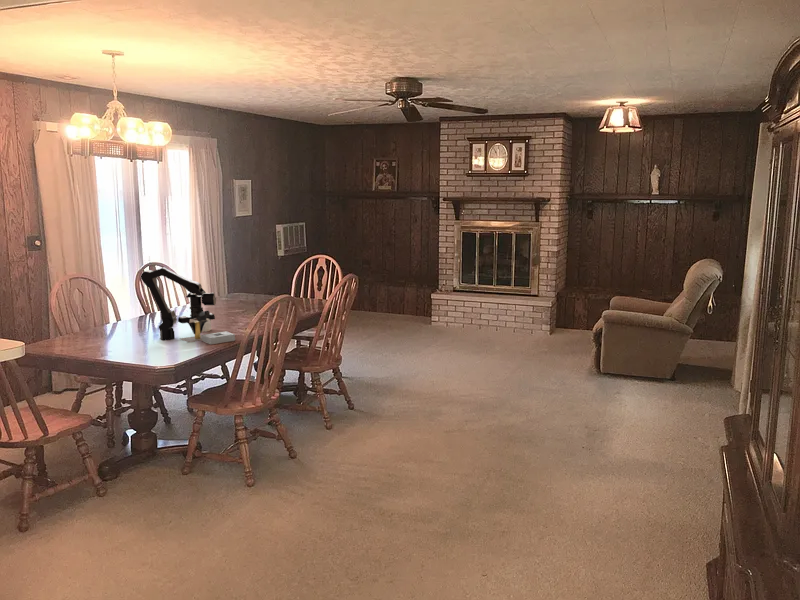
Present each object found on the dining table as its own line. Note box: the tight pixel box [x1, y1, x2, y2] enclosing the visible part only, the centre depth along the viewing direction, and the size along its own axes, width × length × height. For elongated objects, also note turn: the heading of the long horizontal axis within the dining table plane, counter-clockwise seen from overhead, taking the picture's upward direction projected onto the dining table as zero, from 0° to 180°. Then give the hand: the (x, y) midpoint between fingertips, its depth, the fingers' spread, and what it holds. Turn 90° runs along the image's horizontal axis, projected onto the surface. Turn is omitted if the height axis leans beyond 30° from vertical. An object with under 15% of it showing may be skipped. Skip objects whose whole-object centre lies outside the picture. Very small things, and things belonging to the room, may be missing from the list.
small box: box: [194, 318, 212, 333], centre depth 381 cm, size 8×6×10 cm
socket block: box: [201, 330, 236, 345], centre depth 355 cm, size 14×10×4 cm
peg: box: [194, 322, 201, 339], centre depth 360 cm, size 3×3×9 cm
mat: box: [179, 334, 203, 343], centre depth 360 cm, size 14×12×1 cm
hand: (197, 333), depth 361 cm, fingers closed on peg, 3 cm apart
